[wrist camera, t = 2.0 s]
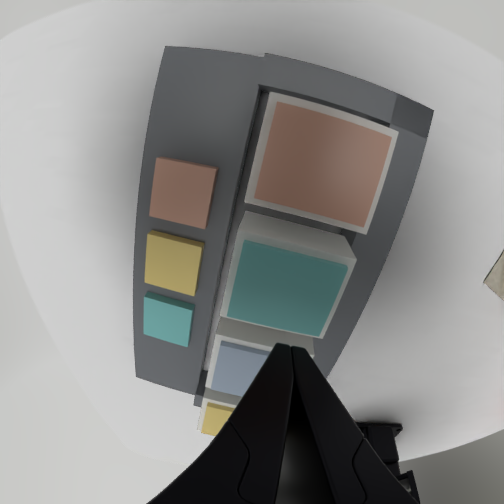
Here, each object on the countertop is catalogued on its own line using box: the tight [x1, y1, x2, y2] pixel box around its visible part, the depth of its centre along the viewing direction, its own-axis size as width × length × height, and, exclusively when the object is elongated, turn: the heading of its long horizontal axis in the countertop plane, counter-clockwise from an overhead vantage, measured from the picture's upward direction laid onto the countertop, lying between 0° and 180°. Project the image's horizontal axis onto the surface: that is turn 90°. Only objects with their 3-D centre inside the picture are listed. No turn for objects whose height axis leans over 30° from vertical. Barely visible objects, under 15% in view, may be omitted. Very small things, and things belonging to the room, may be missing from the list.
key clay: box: [244, 92, 399, 235], centre depth 11 cm, size 4×4×4 cm
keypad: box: [133, 46, 434, 407], centre depth 16 cm, size 22×13×2 cm, turn 167°
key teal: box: [219, 211, 357, 339], centre depth 13 cm, size 4×4×4 cm
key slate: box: [205, 317, 314, 397], centre depth 15 cm, size 4×4×4 cm
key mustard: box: [197, 387, 242, 436], centre depth 17 cm, size 4×4×4 cm
